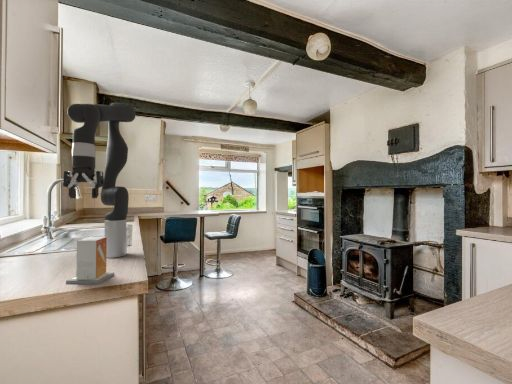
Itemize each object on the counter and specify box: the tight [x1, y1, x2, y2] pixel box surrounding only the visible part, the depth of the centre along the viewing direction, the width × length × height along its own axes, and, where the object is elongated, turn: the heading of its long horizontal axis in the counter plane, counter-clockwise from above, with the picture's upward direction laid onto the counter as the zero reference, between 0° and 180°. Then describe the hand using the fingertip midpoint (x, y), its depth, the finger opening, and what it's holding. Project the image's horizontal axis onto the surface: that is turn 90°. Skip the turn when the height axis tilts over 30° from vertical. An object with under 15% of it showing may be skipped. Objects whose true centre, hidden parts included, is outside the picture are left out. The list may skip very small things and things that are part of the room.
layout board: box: [65, 271, 115, 285], centre depth 90 cm, size 9×11×1 cm
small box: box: [75, 236, 107, 280], centre depth 90 cm, size 8×6×13 cm
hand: (83, 198), depth 99 cm, fingers open, 8 cm apart
